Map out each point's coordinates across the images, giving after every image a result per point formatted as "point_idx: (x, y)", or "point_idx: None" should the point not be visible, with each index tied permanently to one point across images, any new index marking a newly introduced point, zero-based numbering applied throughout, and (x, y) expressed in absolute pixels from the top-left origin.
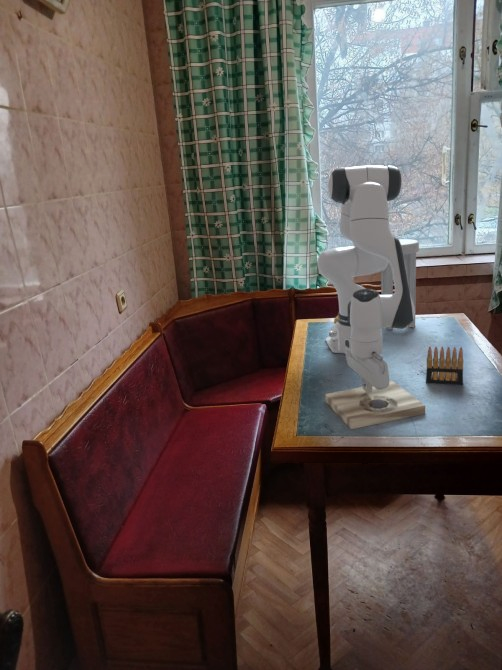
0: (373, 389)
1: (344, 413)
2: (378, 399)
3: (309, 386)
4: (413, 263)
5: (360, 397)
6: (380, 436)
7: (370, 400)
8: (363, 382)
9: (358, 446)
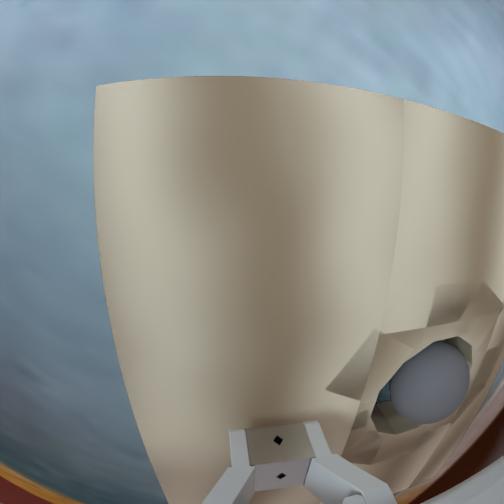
0: (214, 357)
1: None
2: (447, 409)
3: (31, 469)
4: None
5: None
6: (497, 387)
7: (368, 419)
8: (247, 501)
9: (478, 437)
